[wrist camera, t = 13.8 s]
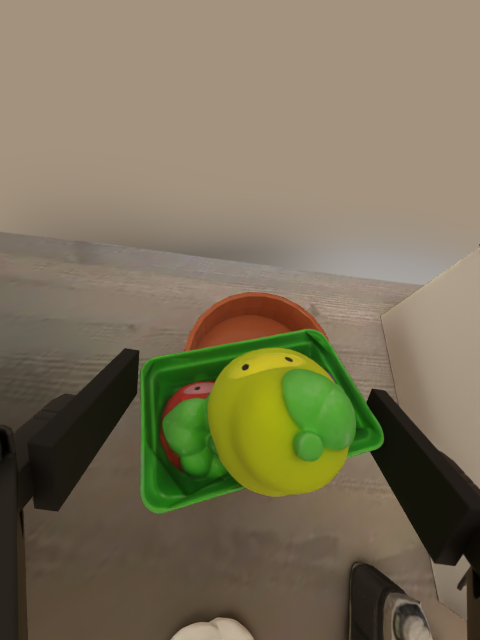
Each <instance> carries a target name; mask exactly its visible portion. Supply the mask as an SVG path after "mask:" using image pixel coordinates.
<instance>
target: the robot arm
mask: <svg viewBox="0 0 480 640" xmlns="http://www.w3.org/2000/svg"><path fill="white" fill-rule="evenodd" d="M138 365H139V350H132V349H126V348H125V349H124V350H123V351H122V352H121V353H120V354H119V355H118V356H117V357H116V358H114V359H113V360H112V361H111V362H110V363H109V364H108V365H107V366H106V367H105V368H104V369H103V370H102V371H101V372H100V373H99V374H98V375H97V376H96V377H95V378H94V379H93V380H92V381H91V382H90V383H88V384H87V385H86V386H85V387H84V388H83V389H82V390H81V391H80V392H79V393H78V394H77V395H71V394H64V395H62V396H60V397H58V398H56V399H54V400H52V401H50V402H49V403H48V404H47V405H46V406H45V407H44V408H42V410H41V411H39V412H38V413H37V414H35V415H34V416H33V418H31V419H30V420H29V421H27V422H26V423H25V424H24V425H23V426H22V427H20V428H19V429H18V430H17V431H16V432H15V433H14V434H13V431H12V429H11V428H10V427H8V426H5V425H0V640H28V627H27V597H26V568H25V538H24V513H23V508H24V506H25V505H26V504H27V503H28V502H29V500H30V499H31V498H32V497H33V500H34V508H36V509H43V510H50V511H57V512H58V511H59V509H60V508H61V506H62V505H63V503H64V502H65V500H66V499H67V497H68V496H69V494H70V493H71V491H72V490H73V488H74V487H75V485H76V484H77V482H78V481H79V479H80V478H81V476H82V475H83V473H84V472H85V470H86V469H87V468H88V466H89V465H90V463H91V462H92V460H93V459H94V457H95V456H96V454H97V453H98V451H99V450H100V448H101V447H102V445H103V444H104V442H105V441H106V439H107V438H108V436H109V435H110V433H111V432H112V430H113V429H114V427H115V426H116V424H117V423H118V421H119V420H120V418H121V417H122V415H123V414H124V412H125V411H126V409H127V408H128V406H129V405H130V403H131V402H132V400H133V399H134V397H135V396H136V394H137V383H138ZM367 405H368V407H369V409H370V410H371V412H372V413H373V415H374V416H375V418H376V419H377V421H378V422H379V424H380V426H381V428H382V430H383V434H384V442H383V444H382V445H381V447H379V448H378V449H376V450H373V451H370V452H371V454H372V456H373V458H374V459H375V461H376V463H377V465H378V466H379V468H380V470H381V472H382V473H383V475H384V477H385V479H386V480H387V482H388V484H389V486H390V487H391V489H392V491H393V493H394V494H395V496H396V498H397V499H398V501H399V503H400V505H401V506H402V508H403V510H404V512H405V513H406V515H407V517H408V519H409V520H410V522H411V524H412V526H413V527H414V529H415V531H416V533H417V534H418V536H419V538H420V540H421V541H422V543H423V545H424V547H425V548H426V550H427V552H428V554H429V555H430V557H431V559H432V560H433V562H434V563H435V564H442V565H449V566H456V564H457V563H458V561H459V560H460V558H461V557H462V555H464V556H465V558H466V559H467V561H468V562H469V564H470V565H471V566H470V567H469V569H468V570H467V572H466V573H465V575H464V576H463V577H462V579H461V580H460V582H459V583H458V586H457V589H458V590H460V591H461V590H462V588H463V587H464V586H467V595H466V596H467V639H468V640H480V489H479V488H478V486H477V485H476V484H474V483H473V481H472V480H471V479H470V478H469V477H468V476H467V475H465V472H464V471H463V470H462V469H461V468H460V467H459V466H458V465H457V464H456V463H455V461H453V460H452V459H451V458H449V457H448V456H447V455H446V454H444V453H443V452H442V451H439V450H438V449H437V448H436V447H435V446H434V445H433V444H432V443H431V441H430V440H429V439H428V438H427V437H426V436H425V435H424V434H423V432H422V431H421V430H420V429H419V428H418V427H417V426H416V425H415V424H414V422H413V421H412V420H411V419H410V418H409V417H408V416H407V415H406V413H405V412H404V411H403V410H402V409H401V408H400V407H399V406H398V404H397V403H396V402H395V401H394V400H393V399H392V398H391V397H390V396H389V394H388V393H387V392H386V391H384V390H377V389H372V390H371V393H370V395H369V398H368V400H367Z"/></svg>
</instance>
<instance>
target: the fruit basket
mask: <svg viewBox="0 0 480 640" xmlns="http://www.w3.org/2000/svg"><path fill="white" fill-rule="evenodd" d="M140 391H141V465H140V493H141V499H142V502H143V504H144V506H145V507H146V508H147V509H148V510H150V511H152V512H154V513H165V512H169V511H172V510H175V509H178V508H182V507H185V506H188V505H191V504H194V503H198V502H201V501H204V500H208V499H211V498H214V497H217V496H221V495H224V494H228V493H231V492H234V491H238V490H241V489H245V488H247V489H249V490H251V491H253V492H256V493H259V494H263V495H267V496H287V495H292V494H304V493H308V492H313V491H316V490H318V489H320V488H322V487H323V486H325V485H326V484H328V483H329V482H330V481H331V480H332V479H333V478H334V477H335V476H336V475H337V473H338V472H339V471H340V469H341V468H342V466H343V464H344V462H345V460H346V458H348V457H352V456H355V455H359V454H362V453H366V452H369V451H373V450H376V449H378V448H379V447H381V445H382V444H383V442H384V434H383V430H382V428H381V426H380V424H379V422H378V421H377V419H376V418H375V416H374V415H373V413H372V412H371V410H370V409H369V407H368V405H367V403H366V402H365V400H364V398H363V396H362V394H361V393H360V391H359V390H358V388H357V386H356V385H355V383H354V381H353V380H352V378H351V377H350V375H349V374H348V372H347V370H346V369H345V367H344V365H343V364H342V362H341V361H340V359H339V357H338V356H337V354H336V353H335V351H334V349H333V347H332V346H331V345H330V343H329V342H328V340H327V339H326V337H325V336H324V335H323V334H322V333H321V332H319V331H317V330H313V329H304V330H299V331H294V332H289V333H283V334H277V335H273V336H269V337H262V338H257V339H252V340H246V341H240V342H235V343H228V344H223V345H219V346H213V347H208V348H203V349H198V350H191V351H186V352H181V353H175V354H168V355H163V356H158V357H154V358H151V359H150V360H148V361H147V362H146V363H145V364H144V365H143V366H142V369H141V371H140Z"/></svg>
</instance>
